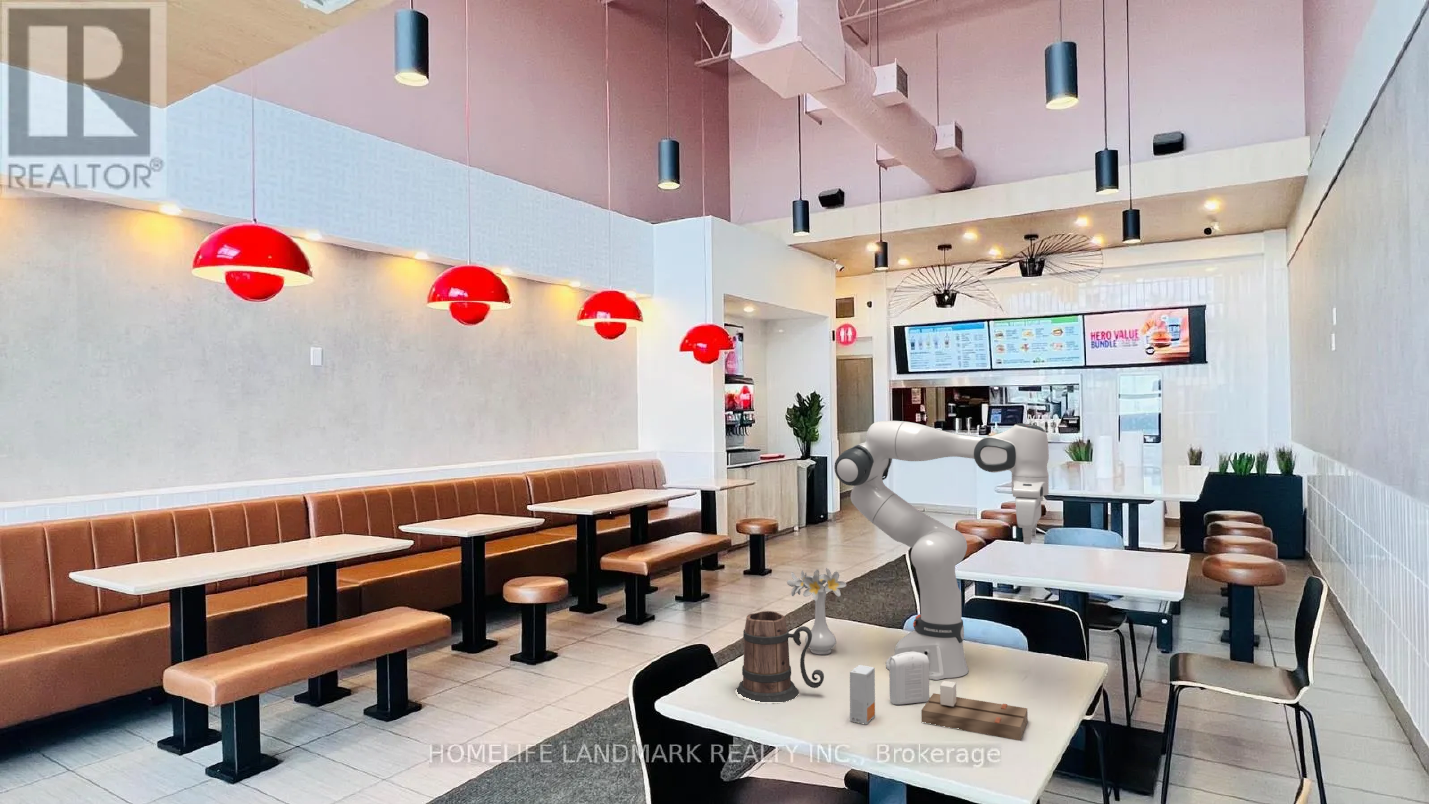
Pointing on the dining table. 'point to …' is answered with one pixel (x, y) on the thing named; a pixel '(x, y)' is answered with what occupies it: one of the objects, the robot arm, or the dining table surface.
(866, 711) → the skincare box
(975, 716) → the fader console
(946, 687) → the fader knob
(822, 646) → the flower vase
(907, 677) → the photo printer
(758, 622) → the tankard
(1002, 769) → the dining table surface
